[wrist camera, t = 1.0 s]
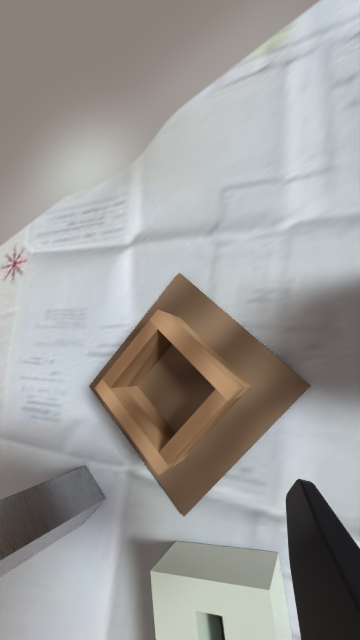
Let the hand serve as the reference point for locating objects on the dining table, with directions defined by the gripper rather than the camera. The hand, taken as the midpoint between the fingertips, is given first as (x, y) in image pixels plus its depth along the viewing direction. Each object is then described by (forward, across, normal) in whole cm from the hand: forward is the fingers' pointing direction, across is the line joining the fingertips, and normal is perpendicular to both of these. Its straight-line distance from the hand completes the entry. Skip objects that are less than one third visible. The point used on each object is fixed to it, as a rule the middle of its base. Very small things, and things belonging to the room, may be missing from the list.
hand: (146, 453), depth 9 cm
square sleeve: (+16, -2, +12) cm, 20 cm away
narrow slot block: (+4, -10, +23) cm, 25 cm away
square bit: (+12, +5, +26) cm, 29 cm away
